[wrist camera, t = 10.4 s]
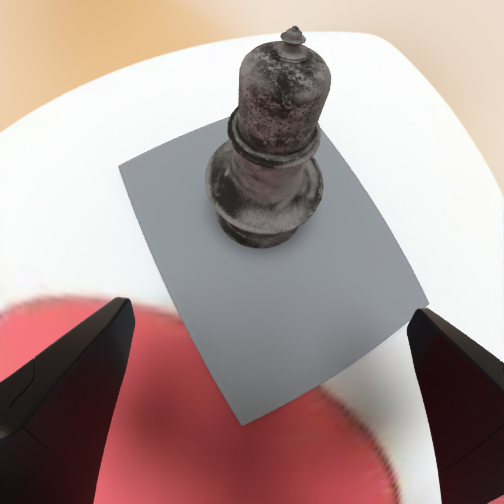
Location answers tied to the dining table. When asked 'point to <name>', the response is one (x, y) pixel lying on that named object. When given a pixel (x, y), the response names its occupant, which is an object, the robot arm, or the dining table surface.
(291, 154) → the dark grey chess piece
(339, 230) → the mat
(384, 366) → the dining table surface
